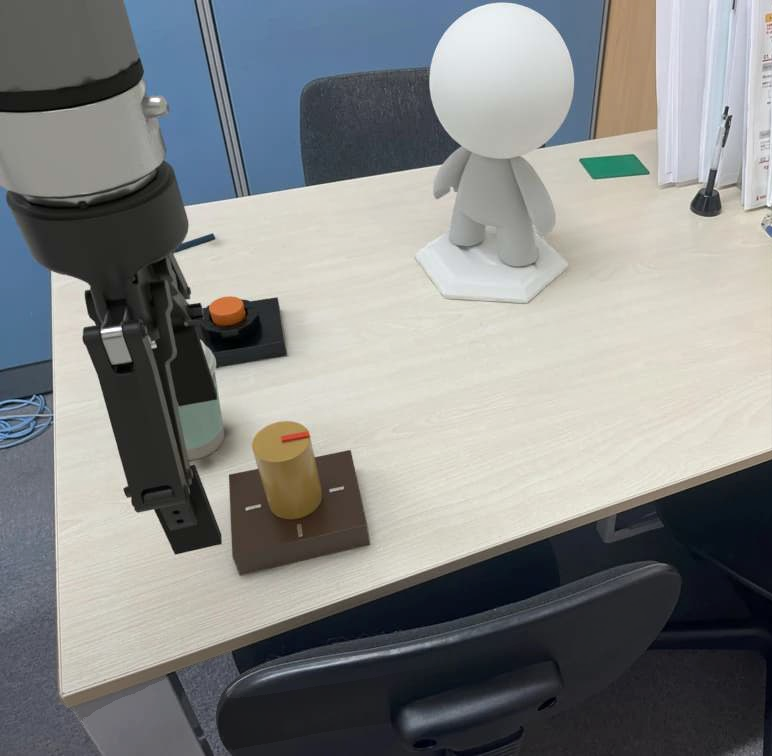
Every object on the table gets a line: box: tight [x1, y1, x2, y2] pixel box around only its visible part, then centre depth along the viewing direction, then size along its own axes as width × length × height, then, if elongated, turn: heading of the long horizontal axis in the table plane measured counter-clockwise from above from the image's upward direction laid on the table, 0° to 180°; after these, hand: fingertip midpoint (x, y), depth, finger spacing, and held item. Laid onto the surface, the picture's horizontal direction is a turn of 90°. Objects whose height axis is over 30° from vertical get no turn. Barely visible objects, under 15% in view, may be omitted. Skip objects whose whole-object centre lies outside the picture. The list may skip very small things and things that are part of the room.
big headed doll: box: [414, 2, 575, 304], centre depth 95 cm, size 20×23×35 cm
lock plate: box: [228, 449, 371, 576], centre depth 69 cm, size 12×10×3 cm
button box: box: [187, 297, 288, 368], centre depth 89 cm, size 12×10×4 cm
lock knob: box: [251, 420, 322, 519], centre depth 65 cm, size 5×5×8 cm
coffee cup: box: [151, 340, 225, 461], centre depth 73 cm, size 8×9×12 cm
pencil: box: [173, 232, 216, 254], centre depth 105 cm, size 1×1×15 cm
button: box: [208, 295, 246, 326], centre depth 88 cm, size 4×4×2 cm
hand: (198, 465), depth 49 cm, fingers open, 13 cm apart
